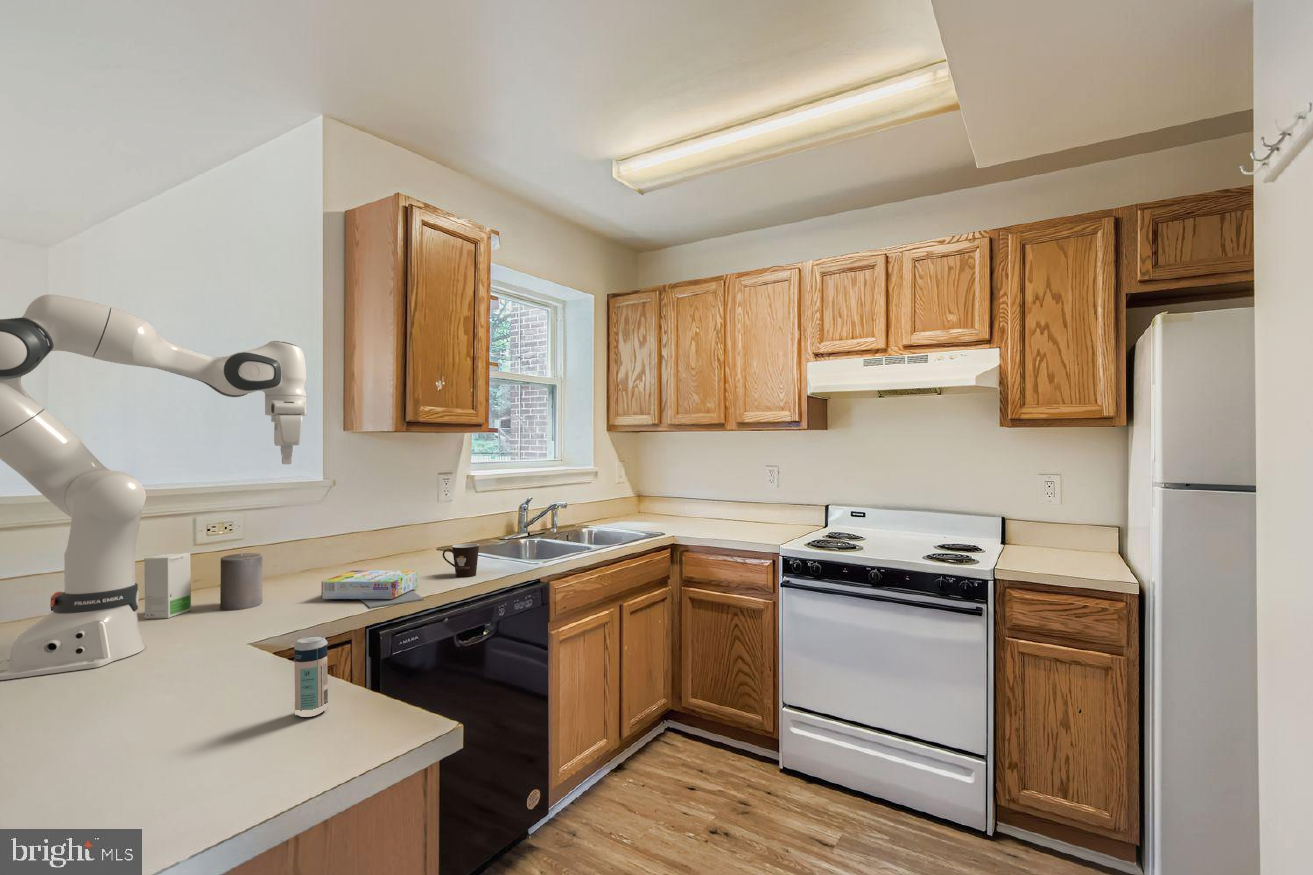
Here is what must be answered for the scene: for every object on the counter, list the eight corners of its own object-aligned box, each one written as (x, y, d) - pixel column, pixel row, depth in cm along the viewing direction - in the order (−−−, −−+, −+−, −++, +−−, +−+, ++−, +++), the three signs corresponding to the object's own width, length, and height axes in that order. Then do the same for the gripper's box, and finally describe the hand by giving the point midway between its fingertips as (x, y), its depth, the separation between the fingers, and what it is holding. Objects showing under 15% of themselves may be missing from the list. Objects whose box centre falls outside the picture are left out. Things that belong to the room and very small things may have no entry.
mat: (370, 608, 163) (370, 606, 163) (356, 596, 177) (356, 594, 177) (423, 599, 172) (423, 598, 172) (407, 588, 185) (407, 587, 185)
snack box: (392, 601, 169) (418, 587, 184) (392, 581, 169) (418, 569, 184) (320, 600, 172) (352, 586, 187) (320, 580, 172) (352, 568, 187)
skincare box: (168, 618, 156) (167, 557, 156) (142, 619, 156) (141, 558, 156) (192, 610, 164) (192, 552, 164) (168, 610, 164) (167, 552, 164)
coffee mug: (485, 574, 204) (484, 544, 205) (464, 579, 197) (464, 548, 197) (461, 570, 211) (461, 541, 211) (440, 575, 203) (440, 545, 203)
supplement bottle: (321, 704, 103) (320, 632, 103) (333, 711, 99) (332, 637, 100) (289, 714, 99) (288, 639, 99) (301, 722, 96) (300, 645, 96)
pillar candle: (212, 607, 166) (212, 552, 166) (250, 599, 175) (250, 547, 175) (232, 612, 162) (232, 555, 162) (270, 603, 170) (270, 549, 170)
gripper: (267, 410, 158) (267, 463, 157) (275, 405, 141) (275, 465, 141) (295, 410, 161) (296, 463, 161) (306, 406, 145) (307, 464, 145)
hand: (286, 464), depth 151 cm, fingers closed
